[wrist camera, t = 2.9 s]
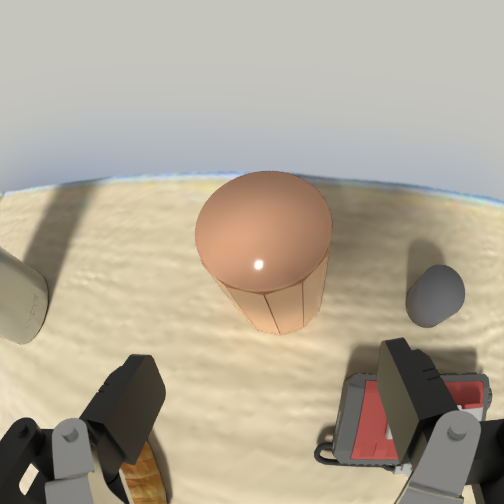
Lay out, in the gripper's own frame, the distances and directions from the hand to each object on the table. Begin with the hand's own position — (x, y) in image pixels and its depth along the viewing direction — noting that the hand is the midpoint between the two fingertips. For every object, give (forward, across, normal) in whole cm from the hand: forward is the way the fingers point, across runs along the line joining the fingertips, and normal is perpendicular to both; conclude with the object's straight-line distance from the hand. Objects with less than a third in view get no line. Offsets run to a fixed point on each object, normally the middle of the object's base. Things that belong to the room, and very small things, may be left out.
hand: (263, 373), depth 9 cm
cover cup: (+13, 0, +3) cm, 14 cm away
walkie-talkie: (+4, -12, +13) cm, 18 cm away
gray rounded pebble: (+11, -12, +5) cm, 17 cm away
